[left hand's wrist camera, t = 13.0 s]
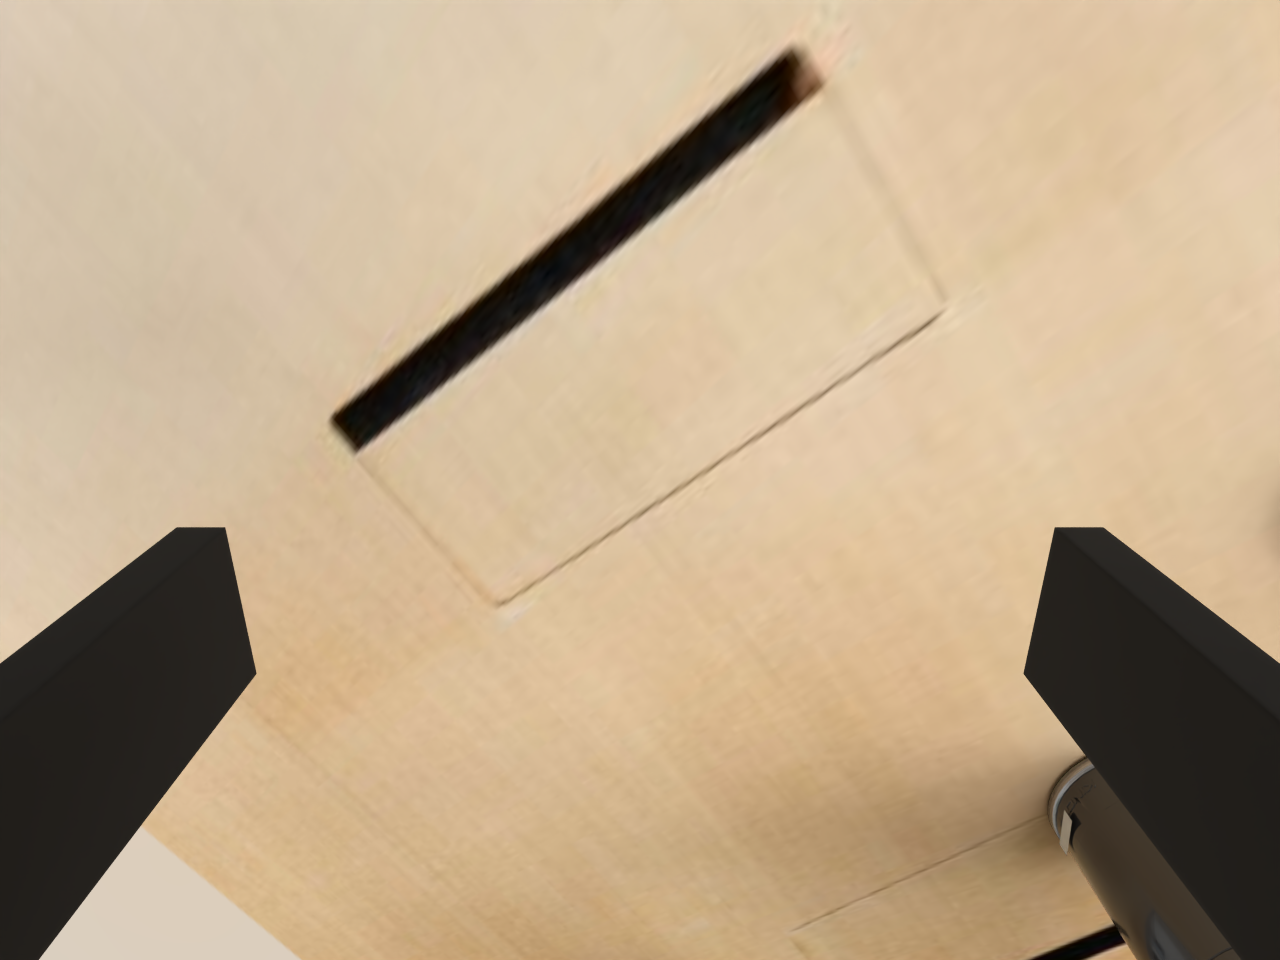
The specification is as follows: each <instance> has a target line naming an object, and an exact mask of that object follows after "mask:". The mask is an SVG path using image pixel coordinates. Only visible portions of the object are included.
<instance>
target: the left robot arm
mask: <svg viewBox="0 0 1280 960" xmlns="http://www.w3.org/2000/svg"><path fill="white" fill-rule="evenodd" d="M255 675H256V669H255V664H254V660H253V655H252V650H251V646H250V641H249V636H248V632H247V627H246V622H245V618H244V613H243V608H242V604H241V599H240V594H239V590H238V585H237V580H236V576H235V571H234V566H233V562H232V557H231V552H230V548H229V543H228V538H227V534H226V529H225V527H177V528H175V529H174V530H173V531H171V532H170V533H169V534H168V535H166V536H165V537H164V538H162V539H161V540H160V541H159V542H157V543H156V544H155V545H153V546H152V547H151V548H149V549H148V550H147V551H146V552H144V553H143V554H142V555H140V556H139V557H138V558H136V559H135V560H134V561H133V562H131V563H130V564H129V565H127V566H126V567H125V568H124V569H122V570H121V571H120V572H118V573H117V574H116V575H114V576H113V577H112V578H111V579H109V580H108V581H107V582H105V583H104V584H103V585H101V586H100V587H99V588H98V589H96V590H95V591H94V592H92V593H91V594H90V595H89V596H87V597H86V598H85V599H83V600H82V601H81V602H79V603H78V604H77V605H76V606H74V607H73V608H72V609H70V610H69V611H68V612H67V613H65V614H64V615H63V616H61V617H60V618H59V619H57V620H56V621H55V622H54V623H52V624H51V625H50V626H48V627H47V628H46V629H44V630H43V631H42V632H41V633H39V634H38V635H37V636H35V637H34V638H33V639H32V640H30V641H29V642H28V643H26V644H25V645H24V646H22V647H21V648H20V649H19V650H17V651H16V652H15V653H13V654H12V655H11V656H9V657H8V658H7V659H6V660H4V661H3V662H2V663H0V960H39V959H40V957H41V956H42V955H43V953H44V952H45V951H46V950H47V948H48V947H49V946H50V944H51V943H52V942H53V940H54V939H55V938H56V936H57V935H58V934H59V932H60V931H61V930H62V928H63V927H64V926H65V925H66V923H67V922H68V921H69V919H70V918H71V917H72V915H73V914H74V913H75V911H76V910H77V909H78V907H79V906H80V905H81V904H82V902H83V901H84V900H85V898H86V897H87V896H88V894H89V893H90V892H91V890H92V889H93V888H94V886H95V885H96V884H97V883H98V881H99V880H100V879H101V877H102V876H103V875H104V873H105V872H106V871H107V869H108V868H109V867H110V865H111V864H112V863H113V862H114V860H115V859H116V858H117V856H118V855H119V854H120V852H121V851H122V850H123V848H124V847H125V846H126V844H127V843H128V842H129V840H130V839H131V838H132V837H133V835H134V834H135V833H136V831H137V830H138V829H139V827H140V826H141V825H142V823H143V822H144V821H145V819H146V818H147V817H148V816H149V814H150V813H151V812H152V810H153V809H154V808H155V806H156V805H157V804H158V802H159V801H160V800H161V798H162V797H163V796H164V795H165V793H166V792H167V791H168V789H169V788H170V787H171V785H172V784H173V783H174V781H175V780H176V779H177V777H178V776H179V775H180V773H181V772H182V771H183V770H184V768H185V767H186V766H187V764H188V763H189V762H190V760H191V759H192V758H193V756H194V755H195V754H196V752H197V751H198V750H199V749H200V747H201V746H202V745H203V743H204V742H205V741H206V739H207V738H208V737H209V735H210V734H211V733H212V731H213V730H214V729H215V728H216V726H217V725H218V724H219V722H220V721H221V720H222V718H223V717H224V716H225V714H226V713H227V712H228V710H229V709H230V708H231V707H232V705H233V704H234V703H235V701H236V700H237V699H238V697H239V696H240V695H241V693H242V692H243V691H244V689H245V688H246V687H247V685H248V684H249V683H250V682H251V680H252V679H253V678H254V676H255ZM1024 675H1025V676H1026V678H1027V679H1028V680H1029V682H1030V683H1031V684H1032V685H1033V687H1034V688H1035V689H1036V691H1037V692H1038V693H1039V695H1040V696H1041V697H1042V699H1043V700H1044V701H1045V703H1046V704H1047V705H1048V707H1049V708H1050V709H1051V710H1052V712H1053V713H1054V714H1055V716H1056V717H1057V718H1058V720H1059V721H1060V722H1061V724H1062V725H1063V726H1064V728H1065V729H1066V730H1067V731H1068V733H1069V734H1070V735H1071V737H1072V738H1073V739H1074V741H1075V742H1076V743H1077V745H1078V746H1079V747H1080V749H1081V750H1082V751H1083V752H1084V754H1085V755H1086V756H1087V758H1088V759H1089V760H1090V762H1091V763H1092V764H1093V766H1094V767H1095V768H1096V770H1097V771H1098V772H1099V774H1100V775H1101V776H1102V777H1103V779H1104V780H1105V781H1106V783H1107V784H1108V785H1109V787H1110V788H1111V789H1112V791H1113V792H1114V793H1115V795H1116V796H1117V797H1118V798H1119V800H1120V801H1121V802H1122V804H1123V805H1124V806H1125V808H1126V809H1127V810H1128V812H1129V813H1130V814H1131V816H1132V817H1133V818H1134V819H1135V821H1136V822H1137V823H1138V825H1139V826H1140V827H1141V829H1142V830H1143V831H1144V833H1145V834H1146V835H1147V837H1148V838H1149V839H1150V840H1151V842H1152V843H1153V844H1154V846H1155V847H1156V848H1157V850H1158V851H1159V852H1160V854H1161V855H1162V856H1163V858H1164V859H1165V860H1166V862H1167V863H1168V864H1169V865H1170V867H1171V868H1172V869H1173V871H1174V872H1175V873H1176V875H1177V876H1178V877H1179V879H1180V880H1181V881H1182V883H1183V884H1184V885H1185V886H1186V888H1187V889H1188V890H1189V892H1190V893H1191V894H1192V896H1193V897H1194V898H1195V900H1196V901H1197V902H1198V904H1199V905H1200V906H1201V907H1202V909H1203V910H1204V911H1205V913H1206V914H1207V915H1208V917H1209V918H1210V919H1211V921H1212V922H1213V923H1214V925H1215V926H1216V927H1217V928H1218V930H1219V931H1220V932H1221V934H1222V935H1223V936H1224V938H1225V939H1226V940H1227V942H1228V943H1229V944H1230V946H1231V947H1232V948H1233V950H1234V951H1235V952H1236V953H1237V955H1238V956H1239V957H1240V959H1241V960H1280V663H1278V662H1277V661H1276V660H1274V659H1273V658H1272V657H1271V656H1269V655H1268V654H1267V653H1265V652H1264V651H1263V650H1261V649H1260V648H1259V647H1258V646H1256V645H1255V644H1254V643H1252V642H1251V641H1250V640H1248V639H1247V638H1246V637H1245V636H1243V635H1242V634H1241V633H1239V632H1238V631H1237V630H1236V629H1234V628H1233V627H1232V626H1230V625H1229V624H1228V623H1226V622H1225V621H1224V620H1223V619H1221V618H1220V617H1219V616H1217V615H1216V614H1215V613H1213V612H1212V611H1211V610H1210V609H1208V608H1207V607H1206V606H1204V605H1203V604H1202V603H1201V602H1199V601H1198V600H1197V599H1195V598H1194V597H1193V596H1191V595H1190V594H1189V593H1188V592H1186V591H1185V590H1184V589H1182V588H1181V587H1180V586H1179V585H1177V584H1176V583H1175V582H1173V581H1172V580H1171V579H1169V578H1168V577H1167V576H1166V575H1164V574H1163V573H1162V572H1160V571H1159V570H1158V569H1156V568H1155V567H1154V566H1153V565H1151V564H1150V563H1149V562H1147V561H1146V560H1145V559H1144V558H1142V557H1141V556H1140V555H1138V554H1137V553H1136V552H1134V551H1133V550H1132V549H1131V548H1129V547H1128V546H1127V545H1125V544H1124V543H1123V542H1121V541H1120V540H1119V539H1118V538H1116V537H1115V536H1114V535H1112V534H1111V533H1110V532H1109V531H1107V530H1106V529H1105V528H1103V527H1055V529H1054V534H1053V538H1052V543H1051V548H1050V552H1049V557H1048V562H1047V566H1046V571H1045V576H1044V580H1043V585H1042V590H1041V594H1040V599H1039V604H1038V608H1037V613H1036V618H1035V622H1034V627H1033V632H1032V636H1031V641H1030V646H1029V650H1028V655H1027V660H1026V664H1025V669H1024Z"/></svg>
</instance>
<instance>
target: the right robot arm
mask: <svg viewBox="0 0 1280 960" xmlns="http://www.w3.org/2000/svg"><path fill="white" fill-rule="evenodd" d="M1048 817H1049V821H1050V824H1051V826H1052V828H1053V830H1054V831H1055V833H1056V835H1057V836H1058V838H1059V839H1060V843H1059V844H1060V846H1061V847H1062V849H1063V851H1064V852H1065V854H1066V855H1067V851H1069V852H1070V854H1071V855H1072V857H1073V859H1074V860H1075V862H1076V863H1077V865H1078V867H1079V868H1080V870H1081V872H1082V873H1083V875H1084V877H1085V878H1086V880H1087V882H1088V883H1089V885H1090V886H1091V888H1092V889H1093V891H1094V893H1095V894H1096V896H1097V897H1098V899H1099V901H1100V902H1101V904H1102V905H1103V907H1104V909H1105V910H1106V912H1107V913H1108V915H1109V916H1110V918H1111V920H1112V921H1113V923H1114V924H1115V926H1116V928H1117V929H1118V931H1119V932H1120V934H1121V936H1122V937H1123V939H1124V940H1125V942H1126V944H1127V945H1128V947H1129V948H1130V950H1131V951H1132V953H1133V955H1134V956H1135V958H1136V959H1137V960H1241V959H1240V957H1239V956H1238V955H1237V953H1236V952H1235V951H1234V950H1233V948H1232V947H1231V946H1230V944H1229V943H1228V942H1227V940H1226V939H1225V938H1224V936H1223V935H1222V934H1221V932H1220V931H1219V930H1218V928H1217V927H1216V926H1215V925H1214V923H1213V922H1212V921H1211V919H1210V918H1209V917H1208V915H1207V914H1206V913H1205V911H1204V910H1203V909H1202V907H1201V906H1200V905H1199V904H1198V902H1197V901H1196V900H1195V898H1194V897H1193V896H1192V894H1191V893H1190V892H1189V890H1188V889H1187V888H1186V886H1185V885H1184V884H1183V883H1182V881H1181V880H1180V879H1179V877H1178V876H1177V875H1176V873H1175V872H1174V871H1173V869H1172V868H1171V867H1170V865H1169V864H1168V863H1167V862H1166V860H1165V859H1164V858H1163V856H1162V855H1161V854H1160V852H1159V851H1158V850H1157V848H1156V847H1155V846H1154V844H1153V843H1152V842H1151V840H1150V839H1149V838H1148V837H1147V835H1146V834H1145V833H1144V831H1143V830H1142V829H1141V827H1140V826H1139V825H1138V823H1137V822H1136V821H1135V819H1134V818H1133V817H1132V816H1131V814H1130V813H1129V812H1128V810H1127V809H1126V808H1125V806H1124V805H1123V804H1122V802H1121V801H1120V800H1119V798H1118V797H1117V796H1116V795H1115V793H1114V792H1113V791H1112V789H1111V788H1110V787H1109V785H1108V784H1107V783H1106V781H1105V780H1104V779H1103V777H1102V776H1101V775H1100V774H1099V772H1098V771H1097V770H1096V768H1095V767H1094V766H1093V764H1092V763H1091V762H1090V760H1089V759H1088V758H1086V759H1085V760H1083V761H1081V762H1079V763H1078V764H1077V765H1075V766H1074V767H1073V768H1071V769H1070V770H1069V771H1068V772H1067V773H1066V774H1065V775H1064V776H1063V777H1062V778H1061V779H1060V780H1059V782H1058V783H1057V784H1056V786H1055V788H1054V790H1053V792H1052V794H1051V797H1050V799H1049V804H1048Z"/></svg>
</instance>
